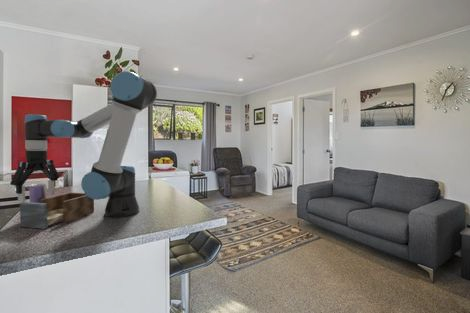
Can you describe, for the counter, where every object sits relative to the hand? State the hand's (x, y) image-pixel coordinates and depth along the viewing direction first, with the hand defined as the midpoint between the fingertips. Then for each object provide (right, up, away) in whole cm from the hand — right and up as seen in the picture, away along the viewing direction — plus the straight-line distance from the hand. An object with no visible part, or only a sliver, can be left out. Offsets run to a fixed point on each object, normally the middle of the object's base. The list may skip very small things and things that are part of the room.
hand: (37, 197), depth 108 cm
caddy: (+12, -9, +4) cm, 15 cm away
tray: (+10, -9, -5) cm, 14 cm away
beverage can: (0, -9, 0) cm, 9 cm away
